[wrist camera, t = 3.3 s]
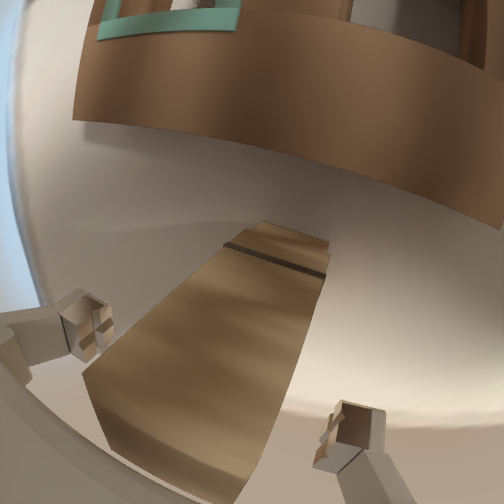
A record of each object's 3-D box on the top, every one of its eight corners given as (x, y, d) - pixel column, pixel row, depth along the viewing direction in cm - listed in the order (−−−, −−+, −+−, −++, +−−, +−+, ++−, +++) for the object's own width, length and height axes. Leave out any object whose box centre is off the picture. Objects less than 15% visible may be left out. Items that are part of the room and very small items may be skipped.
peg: (335, 239, 15) (259, 465, 4) (313, 305, 17) (230, 510, 6) (258, 215, 16) (79, 370, 5) (245, 281, 18) (109, 448, 7)
